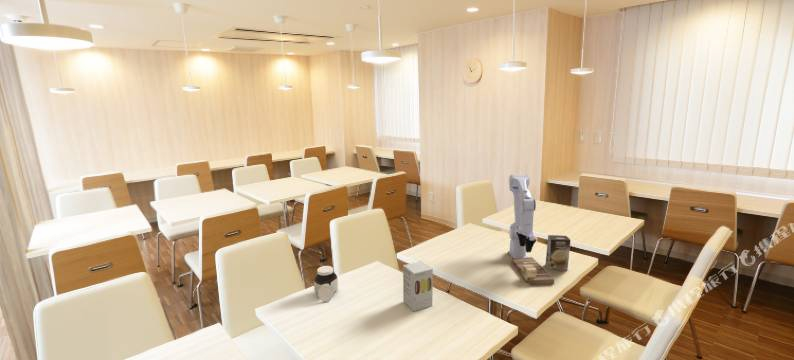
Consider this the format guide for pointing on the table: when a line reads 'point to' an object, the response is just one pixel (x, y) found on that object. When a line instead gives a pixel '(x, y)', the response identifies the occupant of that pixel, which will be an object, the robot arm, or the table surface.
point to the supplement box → (417, 285)
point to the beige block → (529, 271)
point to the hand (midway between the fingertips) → (525, 249)
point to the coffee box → (557, 252)
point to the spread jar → (325, 283)
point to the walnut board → (540, 278)
